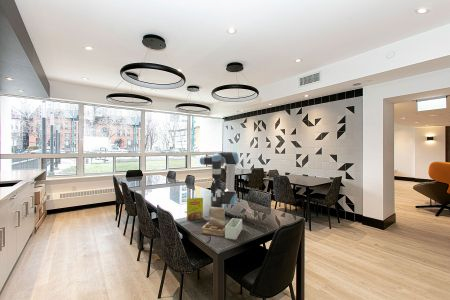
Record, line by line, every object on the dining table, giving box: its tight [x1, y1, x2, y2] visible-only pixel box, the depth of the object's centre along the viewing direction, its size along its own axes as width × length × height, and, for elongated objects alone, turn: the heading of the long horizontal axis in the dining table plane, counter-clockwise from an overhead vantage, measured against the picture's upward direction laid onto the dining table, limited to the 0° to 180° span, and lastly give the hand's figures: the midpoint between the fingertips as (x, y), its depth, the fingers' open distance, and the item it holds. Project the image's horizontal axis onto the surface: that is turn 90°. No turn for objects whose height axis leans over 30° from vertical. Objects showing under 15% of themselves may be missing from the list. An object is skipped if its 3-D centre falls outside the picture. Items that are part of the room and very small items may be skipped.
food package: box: [186, 197, 204, 220], centre depth 206 cm, size 15×1×20 cm, turn 106°
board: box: [209, 206, 226, 226], centre depth 181 cm, size 2×12×18 cm, turn 72°
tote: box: [224, 217, 243, 240], centre depth 171 cm, size 21×9×9 cm, turn 162°
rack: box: [200, 221, 228, 237], centre depth 177 cm, size 16×19×4 cm
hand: (216, 198), depth 179 cm, fingers open, 13 cm apart
